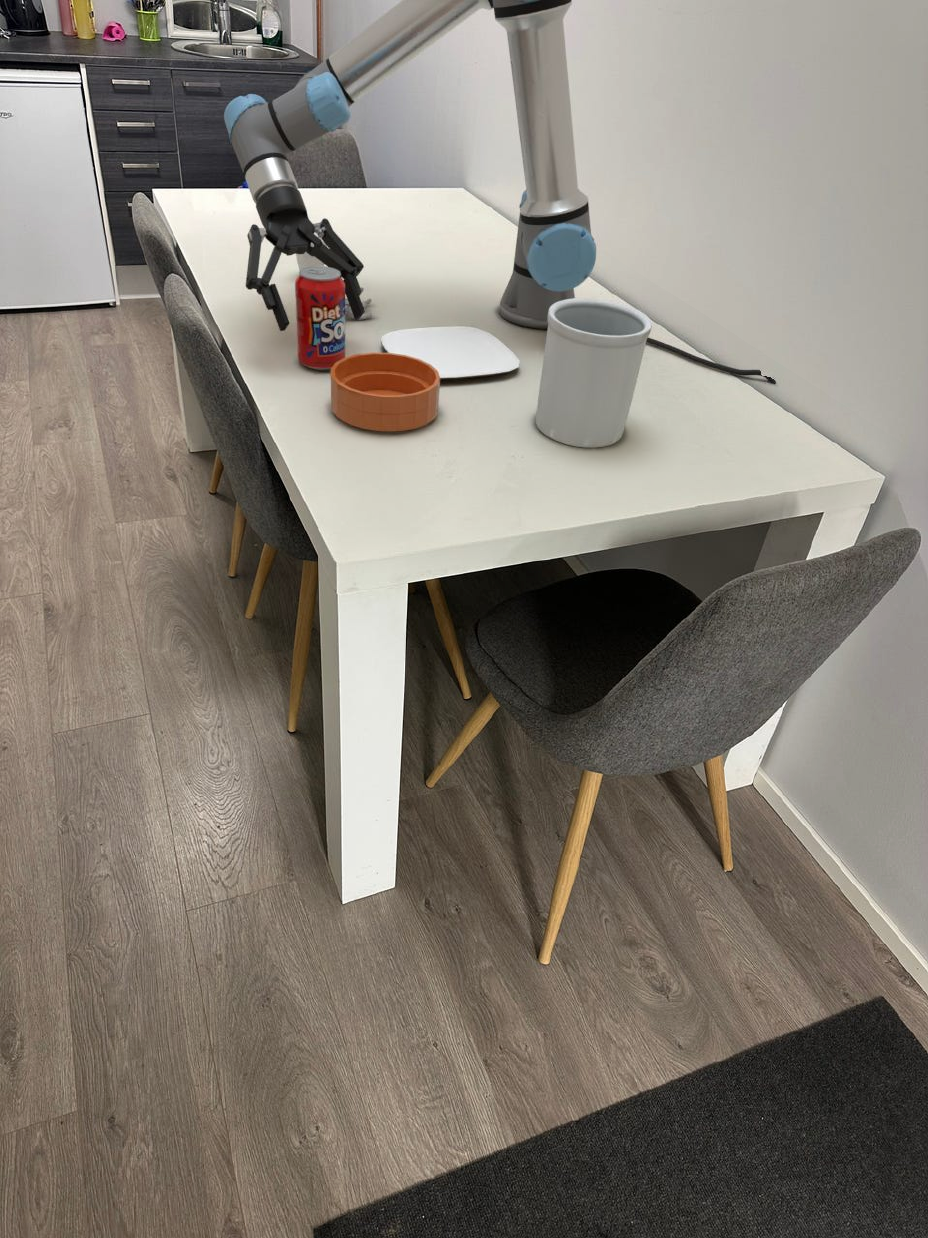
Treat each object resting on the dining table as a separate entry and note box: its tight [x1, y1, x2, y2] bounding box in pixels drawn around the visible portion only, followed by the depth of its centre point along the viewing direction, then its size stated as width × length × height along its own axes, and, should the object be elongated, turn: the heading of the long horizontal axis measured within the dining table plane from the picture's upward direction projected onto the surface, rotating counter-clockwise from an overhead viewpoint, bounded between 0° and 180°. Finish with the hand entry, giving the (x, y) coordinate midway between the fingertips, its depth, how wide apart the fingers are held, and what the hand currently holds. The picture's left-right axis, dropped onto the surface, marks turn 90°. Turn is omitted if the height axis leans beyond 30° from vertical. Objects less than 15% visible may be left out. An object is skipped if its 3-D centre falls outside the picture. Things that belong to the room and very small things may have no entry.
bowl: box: [330, 352, 441, 432], centre depth 131 cm, size 16×16×6 cm
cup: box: [295, 233, 328, 270], centre depth 177 cm, size 7×10×8 cm
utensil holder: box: [535, 297, 653, 449], centre depth 129 cm, size 15×15×18 cm
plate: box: [380, 325, 521, 380], centre depth 151 cm, size 22×22×2 cm
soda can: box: [294, 265, 346, 371], centre depth 141 cm, size 8×8×15 cm
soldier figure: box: [345, 287, 375, 321], centre depth 163 cm, size 8×5×12 cm
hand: (323, 321), depth 140 cm, fingers open, 13 cm apart
